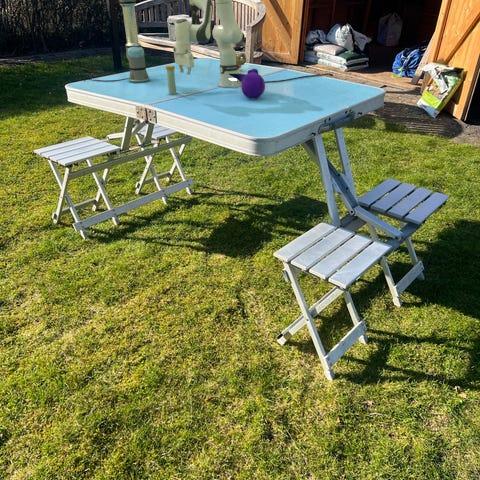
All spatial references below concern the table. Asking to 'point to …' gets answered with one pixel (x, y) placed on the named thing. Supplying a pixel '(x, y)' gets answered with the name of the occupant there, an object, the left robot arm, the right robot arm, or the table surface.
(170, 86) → the jar
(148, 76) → the left robot arm
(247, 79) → the toy
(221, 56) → the right robot arm
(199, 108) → the table surface
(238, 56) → the beige patterned figurine
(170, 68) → the lid
